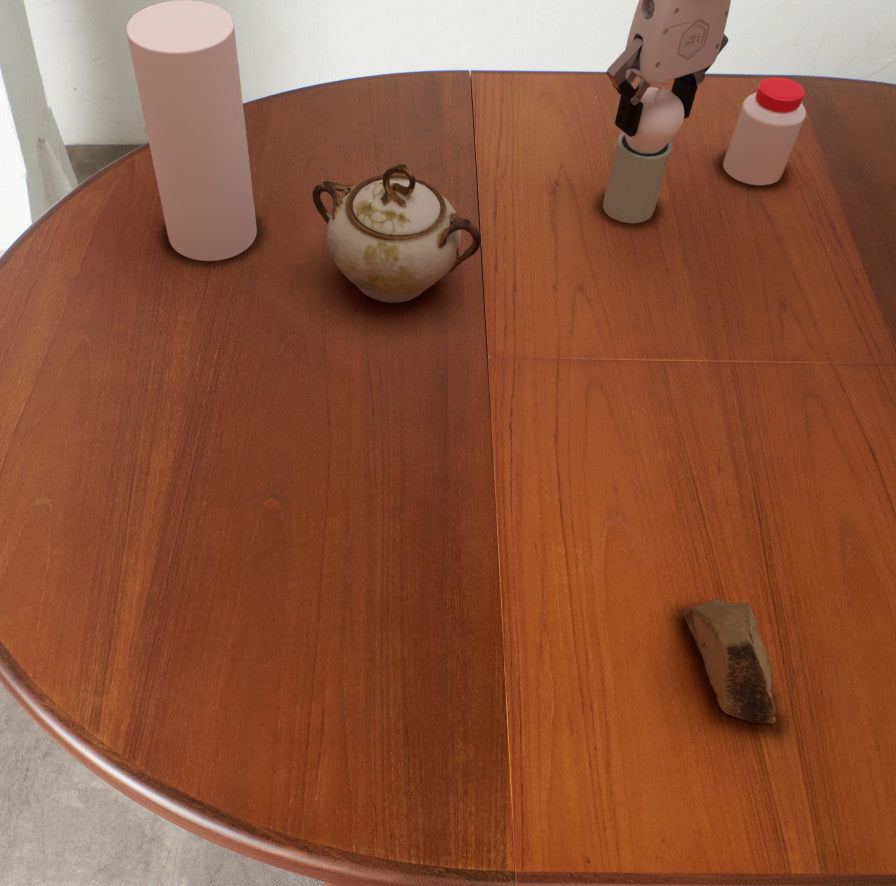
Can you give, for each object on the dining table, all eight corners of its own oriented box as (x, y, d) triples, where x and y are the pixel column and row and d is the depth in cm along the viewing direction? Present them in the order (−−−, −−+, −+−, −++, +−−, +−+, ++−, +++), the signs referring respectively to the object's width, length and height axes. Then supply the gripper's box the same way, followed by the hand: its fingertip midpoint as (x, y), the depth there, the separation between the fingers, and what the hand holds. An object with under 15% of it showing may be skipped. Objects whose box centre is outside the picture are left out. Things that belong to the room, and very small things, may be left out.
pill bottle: (773, 192, 121) (805, 112, 112) (714, 174, 123) (741, 94, 114) (789, 162, 125) (821, 83, 116) (732, 145, 127) (760, 65, 118)
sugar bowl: (493, 263, 112) (509, 149, 100) (451, 344, 103) (463, 230, 91) (341, 222, 116) (338, 108, 104) (289, 297, 107) (279, 182, 95)
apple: (622, 163, 109) (637, 98, 103) (610, 129, 113) (624, 64, 107) (681, 162, 110) (700, 97, 103) (667, 128, 114) (685, 63, 107)
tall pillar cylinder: (152, 248, 112) (105, 39, 92) (194, 198, 118) (159, -9, 98) (232, 270, 110) (203, 60, 90) (271, 218, 116) (251, 10, 96)
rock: (658, 583, 82) (651, 674, 76) (743, 544, 77) (744, 639, 70) (734, 650, 86) (734, 743, 79) (821, 617, 80) (829, 715, 73)
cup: (632, 187, 121) (649, 122, 114) (664, 214, 118) (683, 149, 111) (592, 201, 119) (606, 136, 112) (623, 229, 116) (640, 164, 109)
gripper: (650, -8, 90) (611, 158, 104) (784, -45, 95) (730, 118, 110) (602, -39, 94) (571, 125, 108) (734, -74, 99) (688, 87, 114)
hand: (651, 120), depth 109 cm, fingers closed on apple, 7 cm apart
